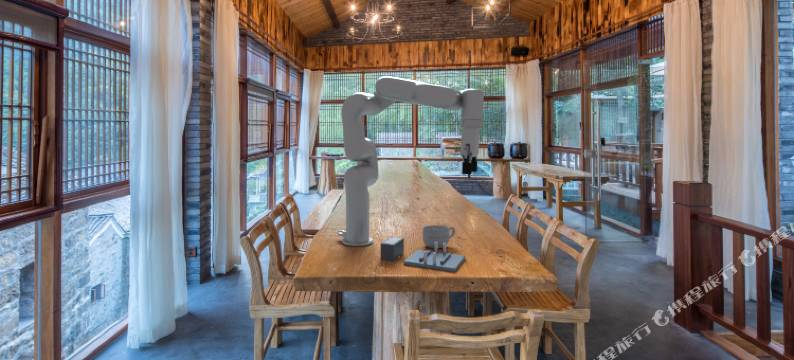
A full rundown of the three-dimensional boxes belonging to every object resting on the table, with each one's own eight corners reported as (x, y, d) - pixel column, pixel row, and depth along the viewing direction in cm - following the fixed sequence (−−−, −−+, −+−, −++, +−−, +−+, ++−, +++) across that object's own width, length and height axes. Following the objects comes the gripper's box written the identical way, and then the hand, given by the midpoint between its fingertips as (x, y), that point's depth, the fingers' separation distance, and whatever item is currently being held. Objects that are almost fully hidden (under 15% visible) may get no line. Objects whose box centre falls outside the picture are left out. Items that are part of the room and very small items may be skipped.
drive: (380, 259, 147) (380, 243, 146) (391, 252, 156) (391, 236, 155) (393, 261, 145) (393, 244, 144) (403, 254, 154) (403, 238, 153)
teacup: (425, 251, 158) (426, 230, 157) (418, 243, 168) (419, 224, 167) (460, 249, 161) (461, 229, 160) (451, 242, 171) (452, 223, 170)
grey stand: (403, 264, 142) (404, 249, 141) (417, 252, 156) (418, 239, 155) (454, 271, 135) (455, 256, 135) (464, 258, 149) (465, 244, 148)
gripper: (466, 124, 155) (464, 170, 157) (455, 124, 139) (453, 174, 141) (486, 125, 152) (484, 171, 154) (477, 124, 136) (475, 175, 138)
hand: (469, 172), depth 148 cm, fingers open, 9 cm apart
